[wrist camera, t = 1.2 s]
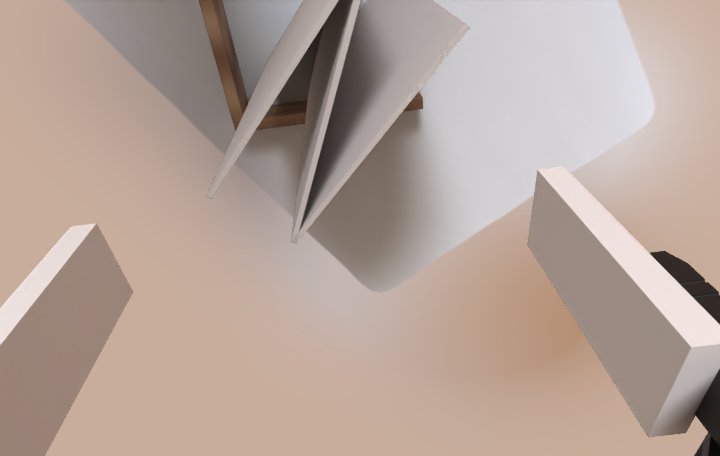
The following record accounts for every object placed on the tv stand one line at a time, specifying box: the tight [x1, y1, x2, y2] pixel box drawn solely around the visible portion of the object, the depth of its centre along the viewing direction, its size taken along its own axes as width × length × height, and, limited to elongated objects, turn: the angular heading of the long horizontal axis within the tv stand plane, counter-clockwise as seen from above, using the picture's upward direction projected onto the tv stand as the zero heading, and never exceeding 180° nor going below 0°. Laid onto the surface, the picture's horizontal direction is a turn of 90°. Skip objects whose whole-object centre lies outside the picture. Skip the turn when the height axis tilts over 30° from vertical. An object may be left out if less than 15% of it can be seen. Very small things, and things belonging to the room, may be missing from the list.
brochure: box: [207, 0, 470, 243], centre depth 34 cm, size 14×6×30 cm, turn 143°
